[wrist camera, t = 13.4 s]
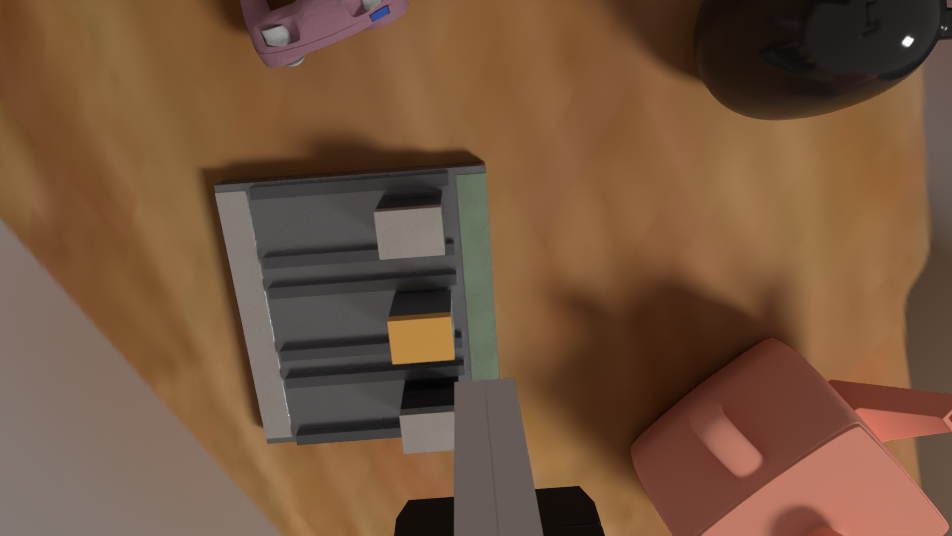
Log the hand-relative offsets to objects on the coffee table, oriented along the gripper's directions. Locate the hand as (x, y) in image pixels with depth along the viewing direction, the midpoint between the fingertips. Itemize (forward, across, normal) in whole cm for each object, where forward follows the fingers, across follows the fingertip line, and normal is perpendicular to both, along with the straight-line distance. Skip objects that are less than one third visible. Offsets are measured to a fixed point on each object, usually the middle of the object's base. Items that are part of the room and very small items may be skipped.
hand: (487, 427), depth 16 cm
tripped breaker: (+27, -4, -8) cm, 29 cm away
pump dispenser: (+29, +19, +9) cm, 36 cm away
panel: (+29, -8, -8) cm, 31 cm away
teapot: (+29, +22, -20) cm, 42 cm away
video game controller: (+29, -8, +13) cm, 33 cm away
